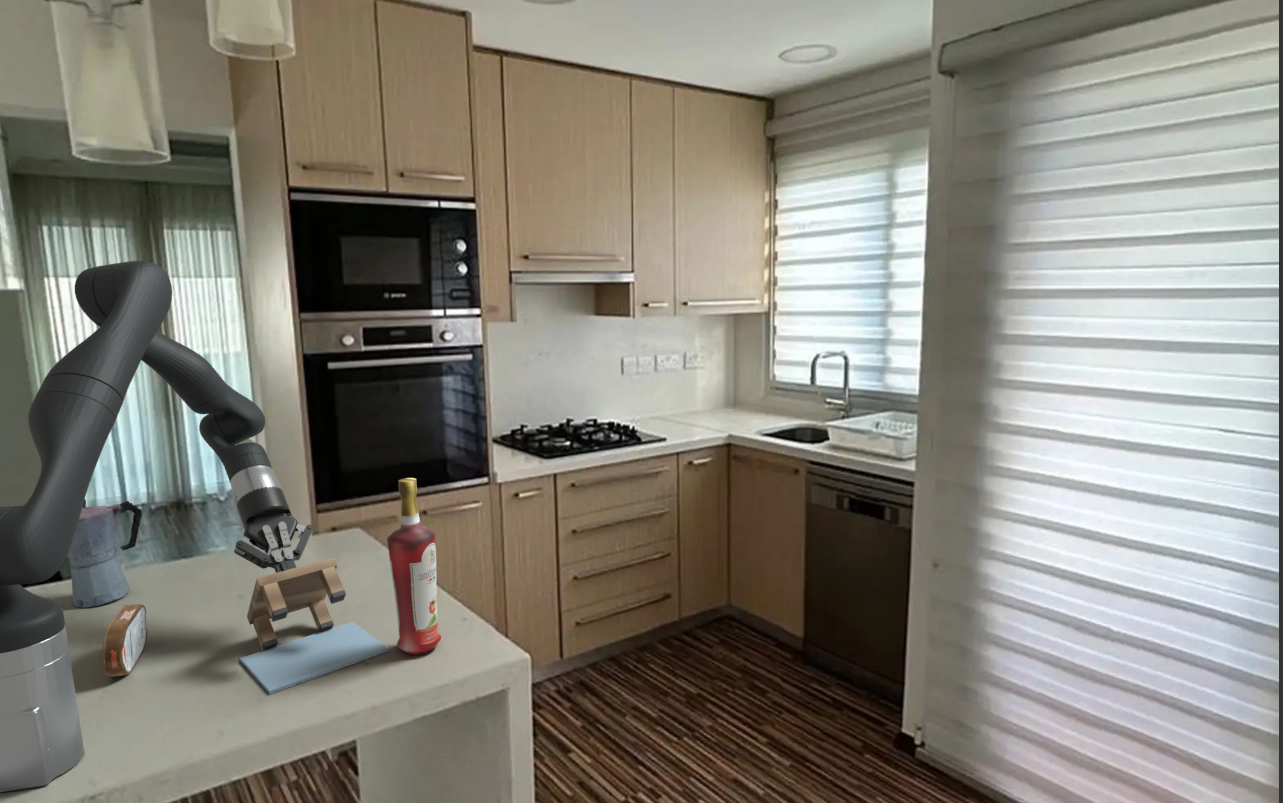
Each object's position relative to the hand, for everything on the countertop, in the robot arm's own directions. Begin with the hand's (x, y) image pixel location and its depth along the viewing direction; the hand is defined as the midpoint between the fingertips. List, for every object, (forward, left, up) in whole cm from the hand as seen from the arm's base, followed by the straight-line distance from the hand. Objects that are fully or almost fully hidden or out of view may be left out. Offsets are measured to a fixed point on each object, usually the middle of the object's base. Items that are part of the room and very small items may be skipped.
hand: (291, 583), depth 124 cm
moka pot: (+30, +40, -10) cm, 51 cm away
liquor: (-9, -20, -10) cm, 24 cm away
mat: (-7, -4, -10) cm, 13 cm away
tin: (-1, +24, -10) cm, 27 cm away
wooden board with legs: (+2, +1, -8) cm, 8 cm away
